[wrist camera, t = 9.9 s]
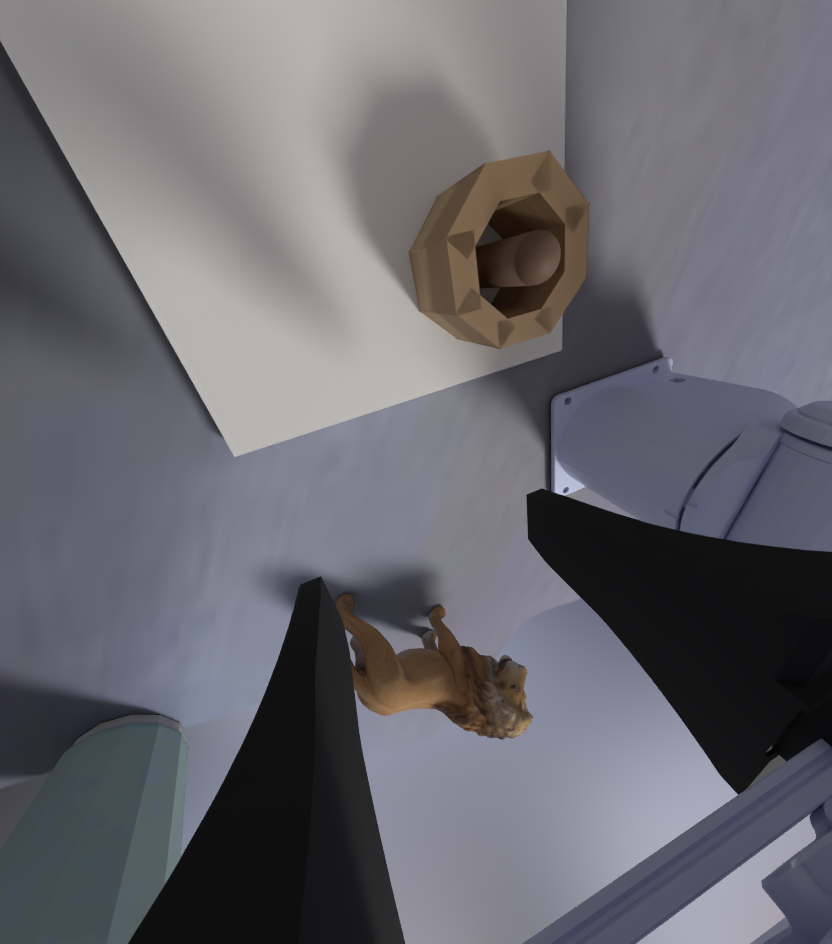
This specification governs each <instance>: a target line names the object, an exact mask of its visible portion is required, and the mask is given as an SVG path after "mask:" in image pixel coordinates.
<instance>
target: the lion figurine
mask: <svg viewBox="0 0 832 944" xmlns="http://www.w3.org/2000/svg"><path fill="white" fill-rule="evenodd" d="M354 606H355V600H354V598H353V596H352V595H350V594H345V595H342V596H341V597H340V598H339V599H338V600H337V603H336V608H337V610H338V612H339V614H340V616H341V618H342V621H343V625H344V628H345V629H347V630H348V631H350V632H351V633H352V634H353V637H352V639H351V641H350V645H351V647H352V649H353V650H354V652H355V657H356V662H355V667H354V665H353V663H352V661H351V667H352V676H353V684H354V689H355V690H356V692H357V694H358V697H359V699H360V701H361V702H362V704H363V705H364V706H365V707H367V708H368V709H369V710H371V711H373V712H375V713H377V714H380V715H384V716H386V715H391V714H394V713H397V712H400V711H404V710H408V709H417V708H426V709H437V710H439V711H441V712H443V713H444V714H445V715H446V716H447V717H448V718H449V719H450V720H451V721H452V722H453V723H455V724H457V725H458V726H459V727H461V728H463V729H464V730H466V731H474V732H476V733H477V734H478V735H479V736H487V737H489V738H495V737H496V738H499V739H504V738H506V737H509V738H514V737H516V736H519V735H520V734H522V733H523V732H524V731H525V730H526V729H527V727H528V725H529V724H530V723H531V719H532V718H533V716H532V715H531V714H530V713H529V712H528V709H527V706H526V702H525V700H526V694H525V692H524V689H523V688H524V683H525V679H526V675H527V669H526V668H525V667H524V666H522V665H520V664H518V663H516V662H514V661H512V659H511V658H510V657H509V656H507V655H503V656H502V657H501V659H500V661H499V662H497V660H496V659H494V658H492V657H491V656H484V655H480V654H478V653H477V652H476V650H475V649H474V648H472V647H465V646H460V645H459V643H458V641H457V640H456V638H455V637H454V635H453V634H452V633H451V631H450V630H449V629H448V628H447V627H446V626H445V625H444V624H443V622H442V621H441V619H442V618H444V617H445V615H446V614H445V609H444V608H443V607H442V606H438V607H436V608H434V609H433V610H432V611H431V613H430V615H429V621H430V623H431V625H432V627H433V629H434V630H435V631H432V630H430V631H427V632H426V633H424V634H423V636H422V642H423V645H424V648H425V649H424V648H417V649H408V650H404V651H402V652H400V653H398V654H397V655H396V654H395V652H394V650H393V648H392V646H391V645H390V643H389V642H388V641H387V640H386V639H385V637H384V636H383V635H382V634H381V633H380V632H379V631H378V630H377V629H376V628H374V627H373V626H371V625H370V624H368V623H366V622H365V621H363V620H362V619H360V618H358V617H357V616H356V615H354V614H353V613H352V612H351V611H350V609H352V608H353V607H354ZM437 636H438V649H437V647H436V644H435V640H436V637H437Z"/></svg>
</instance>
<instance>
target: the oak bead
mask: <svg viewBox="0 0 832 944" xmlns="http://www.w3.org/2000/svg"><path fill="white" fill-rule="evenodd" d="M589 206H590V204H589V203H588V202H587V200H586V199H585V198H584V196H583V195H582V194H581V192H580V191H579V190H578V188H577V187H576V186H575V184H574V183H573V181H572V180H571V179H570V177H569V176H568V175H567V173H566V172H565V171H564V169H563V168H562V167H561V165H560V164H559V163H558V161H557V160H556V159H555V157H554V156H553V154H552V153H551V151H550V150H548V151H546V152H541V153H536V154H531V155H525V156H520V157H515V158H510V159H505V160H500V161H495V162H490V163H487V162H486V163H484V164H483V165H481V166H480V167H478V168H477V169H476V170H474V171H473V172H471V173H470V174H468V175H467V176H465V177H464V178H462V179H461V180H460V181H458V182H457V183H455V184H454V185H452V186H451V187H449V188H448V189H447V190H445V191H444V192H442V193H441V194H439V195H438V196H437V197H436V200H435V202H434V204H433V206H432V208H431V210H430V211H429V213H428V215H427V217H426V219H425V221H424V223H423V225H422V227H421V229H420V231H419V233H418V235H417V237H416V239H415V241H414V243H413V245H412V247H411V249H410V251H408V252H409V253H408V254H409V257H410V262H411V268H412V273H413V278H414V284H415V289H416V294H417V300H418V305H419V311H420V312H421V313H423V314H424V315H425V316H427V317H428V318H429V319H431V320H432V321H434V322H435V323H436V324H438V325H439V326H440V327H442V328H443V329H444V330H446V331H447V332H449V333H450V334H451V335H453V336H454V337H455V338H456V339H459V340H463V341H467V342H471V343H476V344H480V345H484V346H489V347H493V348H497V349H501V348H504V347H507V346H511V345H514V344H517V343H520V342H523V341H527V340H530V339H533V338H536V337H540V336H543V335H546V334H550V333H551V331H552V330H553V328H554V327H555V325H556V324H557V322H558V321H559V319H560V317H561V316H562V314H563V313H564V311H565V310H566V308H567V307H568V305H569V304H570V302H571V300H572V299H573V297H574V296H575V294H576V293H577V291H578V290H579V288H580V287H581V285H582V283H583V282H584V280H585V279H586V268H587V245H588V223H589ZM487 224H488V225H489V226H490V227H491V228H492V229H493V230H494V231H495V232H496V233H497V234H498V235H499V236H500V237H501V238H502V239H506V238H509V237H513V236H517V235H520V234H524V233H527V232H531V231H535V230H545V231H548V232H550V233H552V234H553V235H554V236H555V237H556V238H557V240H558V242H559V244H560V249H561V256H560V261H559V264H558V267H557V269H556V270H555V272H554V273H553V275H552V276H551V277H550V278H549V279H548V280H546V281H545V282H543V283H541V284H538V285H533V286H516V287H501V288H500V289H499V291H498V293H497V294H496V296H495V298H494V300H493V301H492V303H491V304H490V303H489V302H487V301H486V300H485V299H484V298H483V297H482V296H481V295H480V290H479V280H478V270H477V260H476V250H475V246H476V244H477V242H478V240H479V238H480V237H481V235H482V233H483V231H484V229H485V228H486V226H487Z"/></svg>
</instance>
